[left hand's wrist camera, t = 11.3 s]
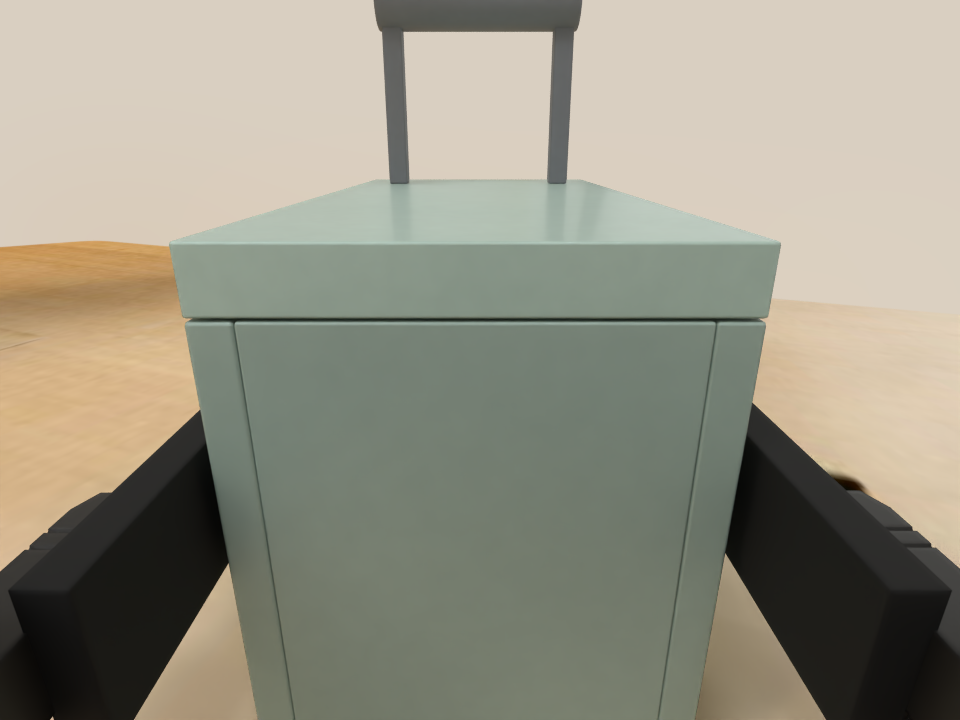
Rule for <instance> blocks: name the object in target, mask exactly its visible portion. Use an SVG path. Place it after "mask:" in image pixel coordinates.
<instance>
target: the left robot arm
mask: <svg viewBox="0 0 960 720" xmlns="http://www.w3.org/2000/svg"><path fill="white" fill-rule="evenodd" d="M725 553H726V555H727V556H728V558H729V560H730V561H731V563H732V565H733V566H734V568H735V570H736V571H737V573H738V575H739V576H740V578H741V580H742V581H743V583H744V584H745V586H746V588H747V589H748V591H749V593H750V594H751V596H752V598H753V599H754V601H755V603H756V604H757V606H758V608H759V609H760V611H761V613H762V614H763V616H764V618H765V619H766V621H767V623H768V624H769V626H770V627H771V629H772V631H773V632H774V634H775V636H776V637H777V639H778V641H779V642H780V644H781V646H782V647H783V649H784V651H785V652H786V654H787V656H788V657H789V659H790V661H791V662H792V664H793V666H794V667H795V669H796V670H797V672H798V674H799V675H800V677H801V679H802V680H803V682H804V684H805V685H806V687H807V689H808V690H809V692H810V694H811V695H812V697H813V699H814V700H815V702H816V704H817V705H818V707H819V709H820V710H821V712H822V713H823V715H824V717H825V718H826V720H906V718H907V715H909V716H910V717H911V719H912V720H960V568H958V567H957V566H956V565H955V564H954V563H953V562H952V561H950V560H949V559H948V558H947V557H946V556H945V555H944V554H942V553H941V552H940V551H939V550H938V549H937V548H932V547H931V543H930V542H929V541H928V540H927V539H925V538H924V537H923V536H922V535H921V534H920V533H919V532H917V531H913V529H912V526H911V525H909V524H908V523H907V522H906V521H905V520H904V519H903V518H901V517H900V516H899V515H898V514H897V513H896V512H895V511H894V510H892V509H891V508H890V507H888V506H887V505H885V504H883V503H881V502H879V501H877V500H876V499H874V498H872V497H870V496H868V495H867V494H865V493H863V492H861V491H846V490H845V489H844V488H843V487H842V486H841V485H839V484H838V483H837V482H836V481H835V480H834V479H833V478H832V477H831V476H830V475H829V474H828V473H827V472H826V471H825V470H823V469H822V468H821V467H820V466H819V465H818V464H817V463H816V462H815V461H814V460H813V459H812V458H811V457H810V456H809V455H808V454H806V453H805V452H804V451H803V450H802V449H801V448H800V447H799V446H798V445H797V444H796V443H795V442H794V441H793V440H792V439H790V438H789V437H788V436H787V435H786V434H785V433H784V432H783V431H782V430H781V429H780V428H779V427H778V426H777V425H776V424H774V423H773V422H772V421H771V420H770V419H769V418H768V417H767V416H766V415H765V414H764V413H763V412H762V411H761V410H760V409H758V408H757V407H756V406H755V405H754V404H753V403H752V406H751V412H750V417H749V423H748V429H747V434H746V440H745V445H744V451H743V456H742V462H741V467H740V473H739V479H738V484H737V490H736V495H735V501H734V506H733V512H732V517H731V523H730V529H729V534H728V540H727V545H726V551H725ZM228 563H229V561H228V556H227V550H226V545H225V540H224V534H223V529H222V524H221V518H220V513H219V507H218V502H217V497H216V491H215V486H214V480H213V475H212V470H211V464H210V459H209V454H208V448H207V443H206V437H205V432H204V427H203V421H202V416H201V411H200V410H199V411H198V412H197V413H196V414H195V415H194V416H193V417H192V418H191V419H190V420H189V421H188V422H187V423H186V424H184V425H183V426H182V427H181V428H180V429H179V430H178V431H177V432H176V433H175V434H174V435H173V436H172V437H171V438H170V439H168V440H167V441H166V442H165V443H164V444H163V445H162V446H161V447H160V448H159V449H158V450H157V451H156V452H155V453H154V454H153V455H151V456H150V457H149V458H148V459H147V460H146V461H145V462H144V463H143V464H142V465H141V466H140V467H139V468H138V469H137V470H135V471H134V472H133V473H132V474H131V475H130V476H129V477H128V478H127V479H126V480H125V481H124V482H123V483H122V484H121V485H119V486H118V487H117V488H116V489H115V490H114V491H113V492H112V493H99V494H98V495H96V496H94V497H92V498H90V499H89V500H87V501H85V502H83V503H81V504H80V505H78V506H76V507H74V508H72V509H70V510H69V511H68V512H67V513H66V514H65V515H64V516H63V517H61V518H60V519H59V520H58V521H57V522H56V523H55V524H54V525H52V526H51V527H50V528H49V529H48V533H43V534H42V535H41V536H40V537H39V538H38V539H37V540H35V541H34V542H33V543H32V544H31V545H30V548H29V550H24V551H23V552H22V553H21V554H20V555H19V556H17V557H16V558H15V559H14V560H13V561H12V562H11V563H9V564H8V565H7V566H6V567H5V568H4V569H3V570H2V571H0V720H50V719H51V718H52V716H53V718H54V720H134V718H135V717H136V715H137V713H138V712H139V710H140V709H141V707H142V705H143V704H144V702H145V700H146V699H147V697H148V695H149V694H150V692H151V690H152V689H153V687H154V685H155V684H156V682H157V680H158V679H159V677H160V675H161V674H162V672H163V671H164V669H165V667H166V666H167V664H168V662H169V661H170V659H171V657H172V656H173V654H174V652H175V651H176V649H177V647H178V646H179V644H180V642H181V641H182V639H183V637H184V636H185V634H186V632H187V631H188V629H189V628H190V626H191V624H192V623H193V621H194V619H195V618H196V616H197V614H198V613H199V611H200V609H201V608H202V606H203V604H204V603H205V601H206V599H207V598H208V596H209V594H210V593H211V591H212V589H213V588H214V586H215V585H216V583H217V581H218V580H219V578H220V576H221V575H222V573H223V571H224V570H225V568H226V566H227V565H228Z"/></svg>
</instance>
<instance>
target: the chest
mask: <svg viewBox="0 0 960 720" xmlns="http://www.w3.org/2000/svg"><path fill="white" fill-rule="evenodd" d="M765 328H766V324H765V322H763V321H762V320H760V319H759V318H193V319H191V320H189V321H188V322H186V324H185V330H186V335H187V341H188V346H189V351H190V357H191V362H192V367H193V373H194V378H195V384H196V389H197V394H198V400H199V405H200V411H201V416H202V421H203V427H204V432H205V437H206V443H207V448H208V454H209V459H210V464H211V470H212V475H213V480H214V486H215V491H216V497H217V502H218V507H219V513H220V518H221V524H222V529H223V534H224V540H225V545H226V550H227V556H228V561H229V567H230V572H231V577H232V583H233V588H234V593H235V599H236V604H237V610H238V615H239V620H240V626H241V631H242V637H243V642H244V647H245V653H246V658H247V663H248V669H249V674H250V680H251V685H252V690H253V696H254V701H255V706H256V712H257V717H258V720H695V717H696V712H697V706H698V701H699V695H700V690H701V684H702V679H703V673H704V667H705V662H706V656H707V651H708V645H709V640H710V634H711V629H712V623H713V617H714V612H715V606H716V601H717V595H718V590H719V584H720V579H721V573H722V567H723V562H724V556H725V551H726V545H727V540H728V534H729V529H730V523H731V517H732V512H733V506H734V501H735V495H736V490H737V484H738V479H739V473H740V467H741V462H742V456H743V451H744V445H745V440H746V434H747V429H748V423H749V417H750V412H751V406H752V401H753V395H754V390H755V384H756V378H757V373H758V367H759V362H760V356H761V351H762V345H763V340H764V334H765Z"/></svg>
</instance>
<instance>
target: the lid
mask: <svg viewBox="0 0 960 720" xmlns="http://www.w3.org/2000/svg"><path fill="white" fill-rule="evenodd" d="M581 7H582V0H374V8H375V15H376V21H377V25H378V28H379V30H380V31H381V32H382V37H383V57H384V76H385V96H386V114H387V134H388V154H389V173H390V180H374V181H370V182H367V183H364V184H360V185H357V186H354V187H350V188H347V189H344V190H340V191H337V192H334V193H330V194H327V195H324V196H320V197H317V198H314V199H310V200H307V201H304V202H300V203H297V204H294V205H290V206H287V207H284V208H280V209H277V210H274V211H271V212H267V213H264V214H260V215H257V216H254V217H251V218H247V219H244V220H241V221H237V222H234V223H231V224H227V225H224V226H221V227H217V228H214V229H211V230H207V231H204V232H201V233H197V234H194V235H191V236H187V237H184V238H181V239H177V240H174V241H171V242H170V243H169V247H170V252H171V258H172V263H173V269H174V274H175V279H176V285H177V290H178V295H179V301H180V306H181V312H182V316H183V318H767V317H768V314H769V308H770V303H771V297H772V292H773V286H774V281H775V275H776V269H777V264H778V258H779V253H780V247H781V243H780V242H779V241H776V240H773V239H769V238H766V237H763V236H760V235H757V234H753V233H750V232H747V231H744V230H741V229H737V228H734V227H731V226H728V225H725V224H721V223H718V222H715V221H712V220H709V219H705V218H702V217H699V216H696V215H692V214H689V213H686V212H683V211H679V210H676V209H673V208H670V207H667V206H664V205H660V204H657V203H654V202H651V201H648V200H644V199H641V198H638V197H634V196H631V195H628V194H625V193H622V192H618V191H615V190H612V189H609V188H606V187H603V186H599V185H596V184H593V183H590V182H586V181H583V180H567V160H568V140H569V120H570V100H571V80H572V60H573V40H574V32H575V31H576V30H577V28H578V25H579V21H580V15H581ZM403 32H553V45H552V70H551V95H550V122H549V147H548V174H547V180H409V161H408V135H407V111H406V86H405V62H404V38H403Z"/></svg>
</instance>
